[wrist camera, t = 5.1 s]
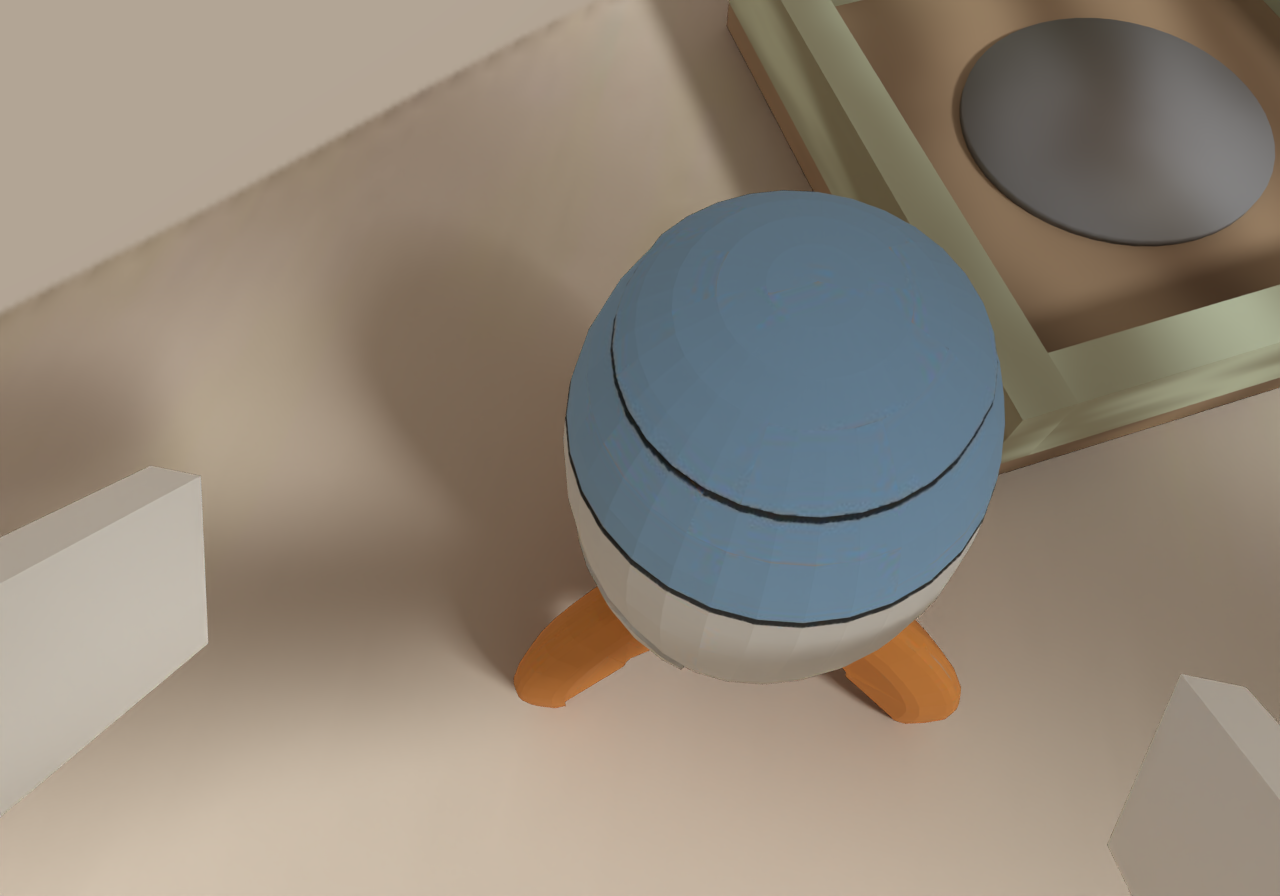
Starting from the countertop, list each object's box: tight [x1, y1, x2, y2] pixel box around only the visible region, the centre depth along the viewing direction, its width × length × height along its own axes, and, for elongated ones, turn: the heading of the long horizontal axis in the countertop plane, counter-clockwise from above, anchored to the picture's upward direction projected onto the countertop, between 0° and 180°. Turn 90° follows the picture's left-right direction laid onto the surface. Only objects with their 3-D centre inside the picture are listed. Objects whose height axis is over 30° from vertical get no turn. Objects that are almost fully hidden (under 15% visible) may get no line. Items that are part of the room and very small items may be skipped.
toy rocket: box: [514, 190, 1005, 724], centre depth 17 cm, size 10×11×15 cm
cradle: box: [727, 0, 1280, 475], centre depth 27 cm, size 20×20×4 cm
